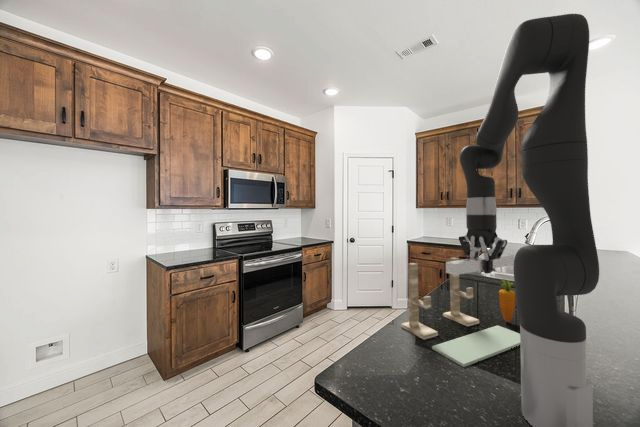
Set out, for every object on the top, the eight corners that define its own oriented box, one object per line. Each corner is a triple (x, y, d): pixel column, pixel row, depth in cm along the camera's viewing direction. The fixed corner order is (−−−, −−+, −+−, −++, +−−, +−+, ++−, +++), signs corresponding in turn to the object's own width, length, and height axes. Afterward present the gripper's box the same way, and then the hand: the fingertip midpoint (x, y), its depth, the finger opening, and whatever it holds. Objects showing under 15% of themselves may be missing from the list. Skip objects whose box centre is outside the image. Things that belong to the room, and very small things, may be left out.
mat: (531, 340, 79) (531, 338, 79) (463, 367, 67) (463, 364, 67) (497, 327, 89) (497, 325, 89) (432, 348, 76) (432, 346, 76)
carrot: (519, 326, 89) (518, 281, 89) (502, 325, 90) (502, 281, 90) (511, 320, 94) (511, 278, 94) (496, 319, 95) (495, 277, 95)
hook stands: (479, 323, 92) (478, 260, 92) (423, 339, 82) (422, 268, 81) (454, 313, 101) (453, 256, 101) (401, 327, 91) (400, 263, 90)
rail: (514, 264, 82) (513, 255, 82) (455, 275, 71) (455, 263, 71) (503, 263, 84) (503, 253, 84) (446, 272, 74) (445, 262, 73)
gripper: (451, 213, 82) (452, 268, 82) (497, 213, 69) (498, 279, 70) (467, 212, 85) (468, 266, 85) (514, 212, 72) (515, 275, 73)
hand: (481, 271), depth 77 cm, fingers closed on rail, 3 cm apart
